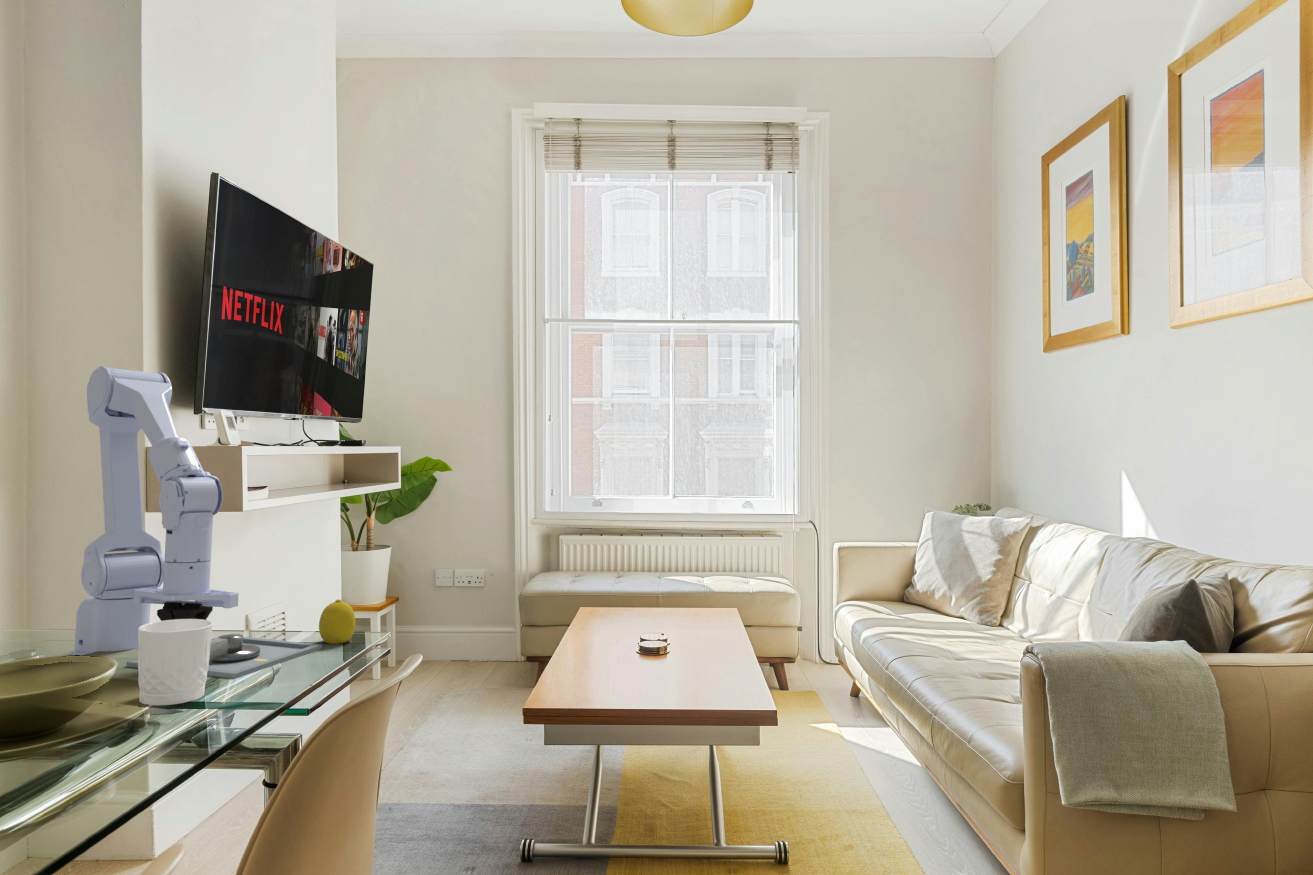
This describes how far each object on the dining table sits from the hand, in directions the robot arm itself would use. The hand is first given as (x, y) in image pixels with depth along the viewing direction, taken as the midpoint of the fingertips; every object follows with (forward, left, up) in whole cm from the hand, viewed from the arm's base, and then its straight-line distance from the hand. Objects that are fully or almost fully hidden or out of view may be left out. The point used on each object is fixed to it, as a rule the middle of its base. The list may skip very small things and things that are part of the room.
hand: (183, 656), depth 110 cm
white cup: (+11, -12, -3) cm, 16 cm away
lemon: (+11, +20, -3) cm, 23 cm away
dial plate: (+3, +6, -2) cm, 7 cm away
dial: (+3, +4, -1) cm, 5 cm away
